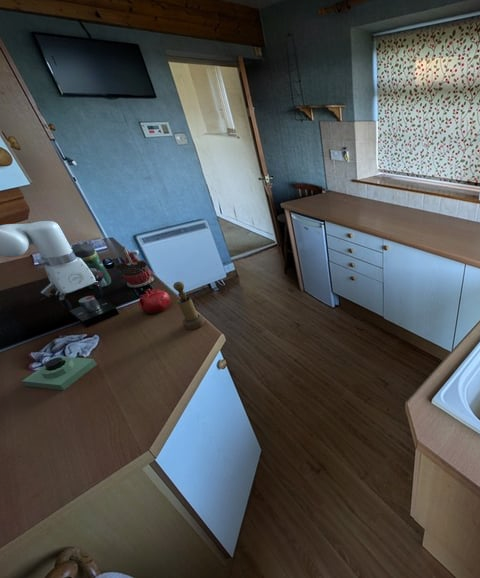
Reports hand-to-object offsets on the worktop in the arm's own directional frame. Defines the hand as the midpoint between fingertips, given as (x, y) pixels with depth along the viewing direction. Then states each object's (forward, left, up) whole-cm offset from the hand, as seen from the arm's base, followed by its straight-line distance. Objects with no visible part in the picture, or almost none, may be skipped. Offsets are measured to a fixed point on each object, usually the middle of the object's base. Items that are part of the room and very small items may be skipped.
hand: (84, 300), depth 108 cm
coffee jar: (-24, +16, -7) cm, 29 cm away
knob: (0, +1, -4) cm, 4 cm away
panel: (0, +1, -7) cm, 7 cm away
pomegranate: (+17, +13, -7) cm, 23 cm away
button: (+24, -21, -3) cm, 33 cm away
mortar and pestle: (+39, +11, -7) cm, 41 cm away
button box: (+24, -21, -7) cm, 33 cm away
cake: (-8, +23, -7) cm, 26 cm away
